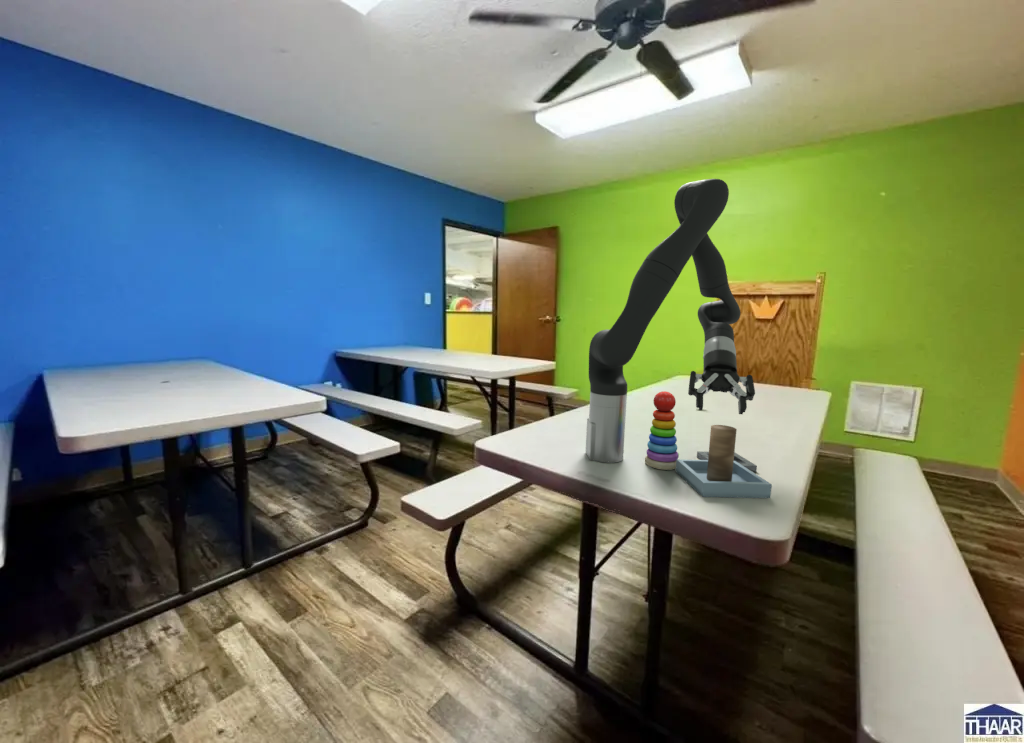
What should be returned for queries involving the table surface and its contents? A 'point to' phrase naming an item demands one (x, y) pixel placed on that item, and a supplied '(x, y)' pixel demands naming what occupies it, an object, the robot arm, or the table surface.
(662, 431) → the stacking toy
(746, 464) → the socket plate
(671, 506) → the table surface
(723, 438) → the walnut peg
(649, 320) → the robot arm
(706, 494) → the tray
